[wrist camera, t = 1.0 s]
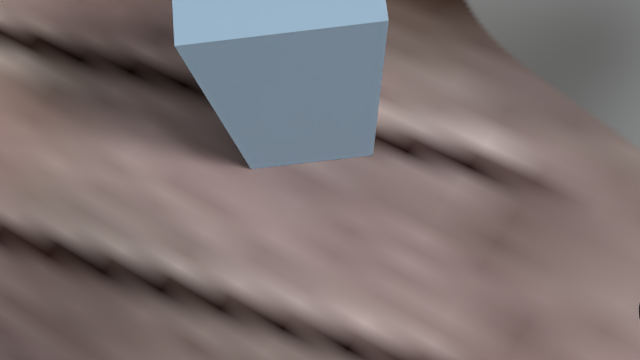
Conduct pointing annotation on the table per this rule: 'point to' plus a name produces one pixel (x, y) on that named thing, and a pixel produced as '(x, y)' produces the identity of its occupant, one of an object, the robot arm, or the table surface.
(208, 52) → the dusty blue block
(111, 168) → the table surface
